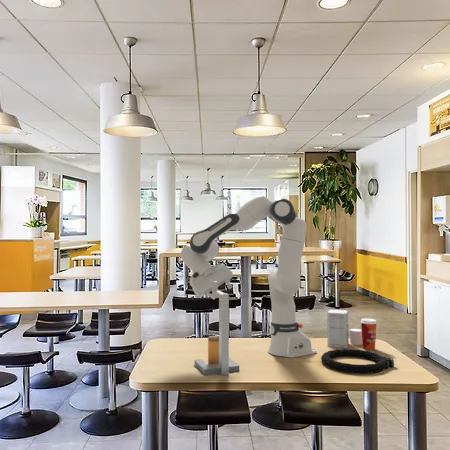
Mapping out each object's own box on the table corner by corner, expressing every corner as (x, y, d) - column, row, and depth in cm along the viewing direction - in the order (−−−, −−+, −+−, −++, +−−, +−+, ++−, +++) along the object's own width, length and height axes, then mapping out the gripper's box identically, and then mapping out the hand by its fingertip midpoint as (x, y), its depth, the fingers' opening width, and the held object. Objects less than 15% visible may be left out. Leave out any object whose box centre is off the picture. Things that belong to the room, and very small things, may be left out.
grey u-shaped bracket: (227, 361, 199) (227, 356, 199) (239, 370, 185) (239, 365, 185) (194, 364, 193) (194, 359, 193) (204, 374, 180) (204, 369, 180)
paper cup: (371, 351, 214) (371, 322, 214) (357, 348, 220) (357, 319, 220) (380, 348, 219) (380, 319, 219) (366, 345, 225) (366, 317, 225)
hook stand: (217, 365, 193) (217, 281, 193) (228, 374, 180) (228, 285, 180) (210, 365, 192) (210, 281, 192) (221, 375, 179) (221, 285, 179)
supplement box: (348, 343, 229) (349, 310, 229) (346, 348, 220) (346, 313, 220) (329, 341, 232) (329, 309, 232) (326, 346, 224) (326, 312, 224)
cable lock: (321, 346, 211) (389, 350, 205) (321, 354, 211) (389, 358, 205) (320, 363, 184) (398, 368, 178) (320, 372, 184) (398, 378, 178)
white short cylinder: (346, 342, 231) (346, 329, 231) (357, 341, 233) (357, 327, 233) (355, 346, 224) (355, 331, 224) (366, 344, 227) (366, 330, 227)
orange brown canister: (217, 363, 195) (217, 335, 196) (221, 366, 191) (221, 338, 191) (206, 364, 194) (206, 336, 194) (210, 367, 189) (210, 339, 189)
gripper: (221, 265, 221) (239, 285, 215) (187, 286, 211) (205, 307, 205) (222, 258, 216) (241, 278, 210) (187, 278, 207) (206, 300, 200)
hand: (223, 293), depth 207 cm, fingers open, 8 cm apart
